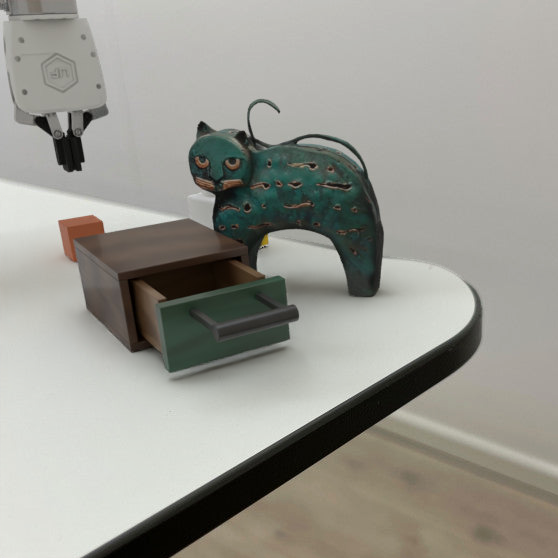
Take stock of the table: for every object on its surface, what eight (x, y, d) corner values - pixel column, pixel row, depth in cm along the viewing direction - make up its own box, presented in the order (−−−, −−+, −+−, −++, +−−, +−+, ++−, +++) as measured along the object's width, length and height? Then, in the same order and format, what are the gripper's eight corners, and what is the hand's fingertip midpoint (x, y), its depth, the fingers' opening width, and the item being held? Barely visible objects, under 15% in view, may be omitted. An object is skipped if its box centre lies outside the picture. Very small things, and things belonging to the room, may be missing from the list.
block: (73, 262, 97) (66, 227, 95) (64, 254, 100) (57, 220, 99) (109, 255, 99) (102, 221, 97) (98, 247, 103) (92, 214, 101)
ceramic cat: (201, 292, 84) (176, 102, 76) (225, 274, 90) (205, 95, 82) (376, 302, 79) (370, 100, 71) (390, 282, 85) (386, 93, 77)
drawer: (326, 362, 64) (322, 297, 62) (199, 401, 59) (189, 331, 56) (227, 299, 79) (221, 245, 77) (118, 325, 74) (108, 268, 71)
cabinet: (255, 320, 76) (247, 246, 73) (131, 352, 70) (117, 273, 67) (197, 283, 87) (189, 217, 84) (86, 308, 81) (72, 238, 78)
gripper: (-26, 7, 80) (13, 183, 88) (117, 3, 87) (141, 166, 95) (-35, 8, 86) (2, 173, 94) (99, 5, 93) (124, 158, 101)
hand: (72, 169), depth 94 cm, fingers closed
